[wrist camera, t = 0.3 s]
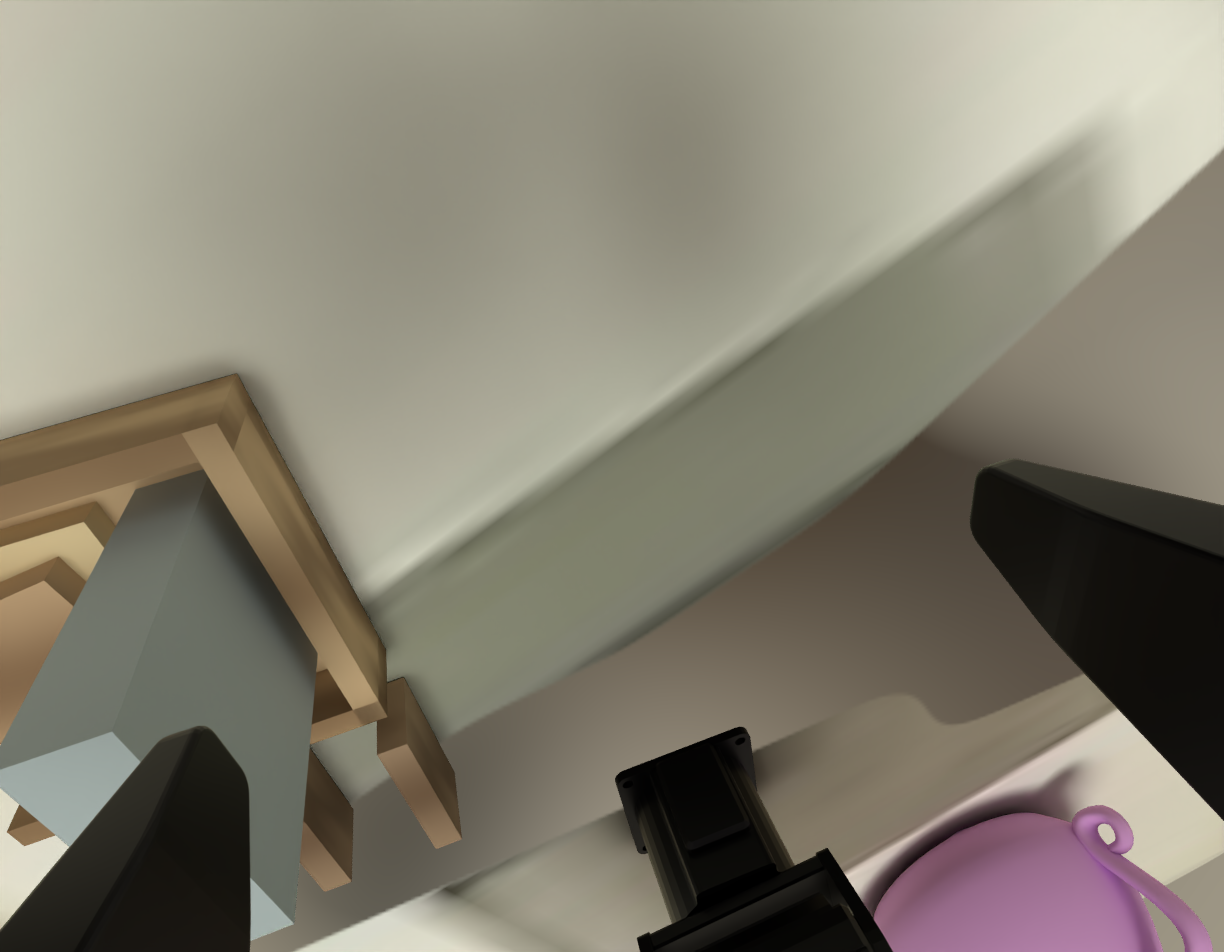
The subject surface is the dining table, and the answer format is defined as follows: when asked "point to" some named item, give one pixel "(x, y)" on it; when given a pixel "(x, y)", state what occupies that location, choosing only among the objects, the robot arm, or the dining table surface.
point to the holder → (415, 773)
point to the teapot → (1032, 891)
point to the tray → (254, 494)
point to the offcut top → (31, 628)
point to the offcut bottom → (56, 541)
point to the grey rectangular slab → (174, 681)
